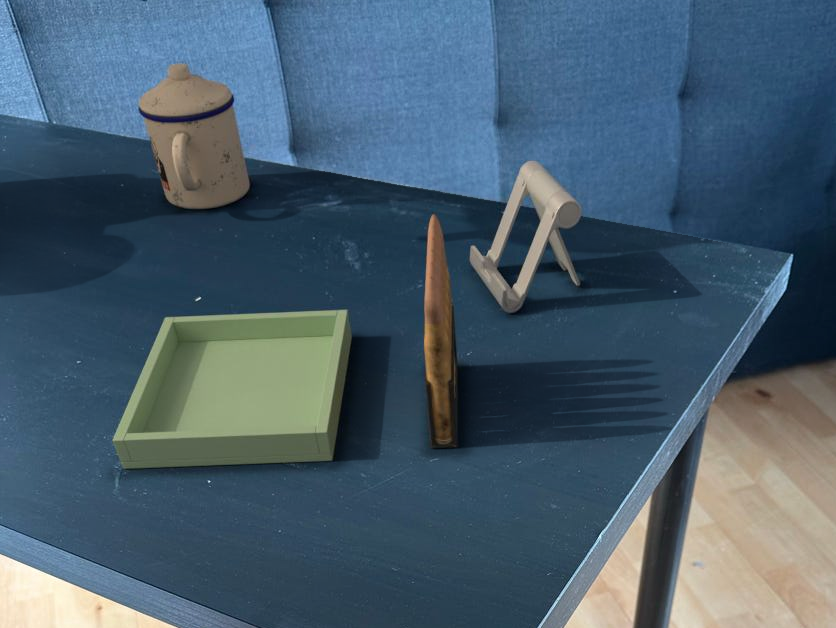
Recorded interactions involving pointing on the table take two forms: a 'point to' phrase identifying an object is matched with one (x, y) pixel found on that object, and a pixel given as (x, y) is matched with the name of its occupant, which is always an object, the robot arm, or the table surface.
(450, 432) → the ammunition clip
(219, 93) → the teacup with lid
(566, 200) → the tablet stand
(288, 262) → the table surface
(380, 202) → the table surface
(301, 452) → the tray
